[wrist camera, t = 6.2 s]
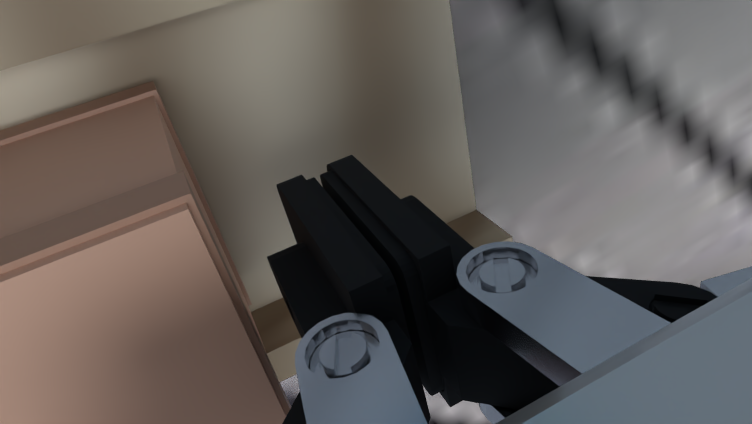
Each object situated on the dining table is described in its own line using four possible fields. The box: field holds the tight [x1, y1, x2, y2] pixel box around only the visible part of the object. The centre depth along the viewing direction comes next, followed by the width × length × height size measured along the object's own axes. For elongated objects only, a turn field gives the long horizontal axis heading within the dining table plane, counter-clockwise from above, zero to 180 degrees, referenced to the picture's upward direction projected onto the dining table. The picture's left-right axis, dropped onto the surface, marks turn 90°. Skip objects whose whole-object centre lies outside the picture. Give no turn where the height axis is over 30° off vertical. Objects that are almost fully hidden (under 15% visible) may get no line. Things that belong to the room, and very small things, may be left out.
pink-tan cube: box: [0, 81, 291, 424], centre depth 10 cm, size 7×6×7 cm
